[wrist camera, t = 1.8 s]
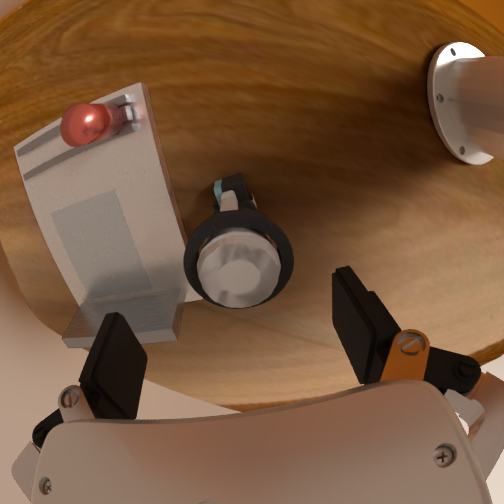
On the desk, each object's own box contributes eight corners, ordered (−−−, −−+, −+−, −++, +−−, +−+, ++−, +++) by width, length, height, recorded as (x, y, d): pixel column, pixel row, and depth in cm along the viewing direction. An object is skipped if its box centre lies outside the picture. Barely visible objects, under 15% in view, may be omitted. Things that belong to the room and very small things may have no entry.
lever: (128, 97, 15) (95, 94, 10) (135, 128, 16) (104, 136, 12) (91, 112, 15) (52, 116, 11) (99, 142, 16) (61, 155, 12)
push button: (281, 238, 23) (311, 322, 14) (220, 257, 23) (215, 347, 14) (259, 162, 20) (282, 206, 11) (191, 183, 20) (160, 244, 11)
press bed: (147, 83, 16) (111, 74, 10) (204, 288, 25) (198, 341, 19) (23, 143, 16) (-25, 161, 11) (90, 307, 25) (67, 351, 19)
